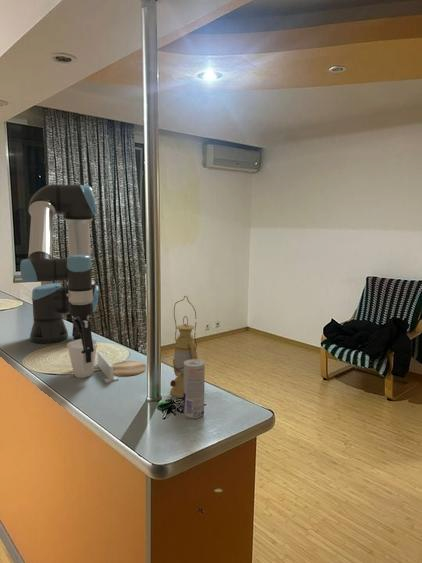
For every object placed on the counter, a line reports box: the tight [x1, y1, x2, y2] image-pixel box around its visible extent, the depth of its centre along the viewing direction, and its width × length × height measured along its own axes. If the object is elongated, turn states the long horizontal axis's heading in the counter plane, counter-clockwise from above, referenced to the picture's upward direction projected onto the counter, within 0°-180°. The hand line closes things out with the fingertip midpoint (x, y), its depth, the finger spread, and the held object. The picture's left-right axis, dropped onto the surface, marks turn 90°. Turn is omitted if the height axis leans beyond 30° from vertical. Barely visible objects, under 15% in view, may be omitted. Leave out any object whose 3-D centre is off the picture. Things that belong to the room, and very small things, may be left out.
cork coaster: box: [111, 360, 147, 377], centre depth 142 cm, size 13×13×1 cm
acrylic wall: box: [94, 351, 119, 383], centre depth 138 cm, size 16×4×5 cm, turn 30°
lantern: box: [169, 295, 199, 398], centre depth 122 cm, size 12×10×30 cm
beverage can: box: [183, 359, 206, 419], centre depth 110 cm, size 6×6×15 cm
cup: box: [66, 338, 99, 379], centre depth 136 cm, size 10×10×11 cm
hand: (83, 364), depth 136 cm, fingers open, 13 cm apart
